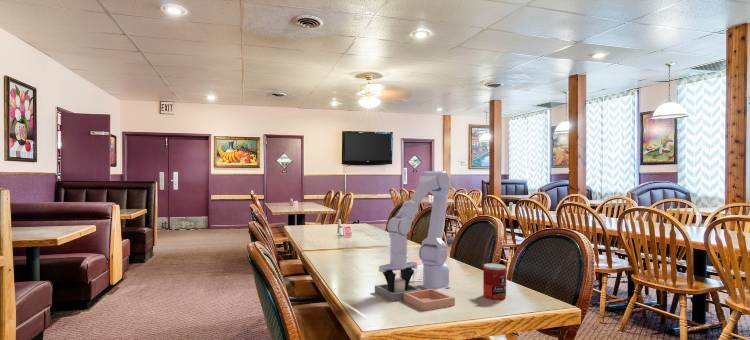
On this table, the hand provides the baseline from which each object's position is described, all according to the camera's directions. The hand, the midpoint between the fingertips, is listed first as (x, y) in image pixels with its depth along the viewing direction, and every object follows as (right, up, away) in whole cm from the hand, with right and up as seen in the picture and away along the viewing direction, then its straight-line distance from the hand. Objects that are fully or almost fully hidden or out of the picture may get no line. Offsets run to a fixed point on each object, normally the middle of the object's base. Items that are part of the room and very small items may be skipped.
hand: (398, 290), depth 148 cm
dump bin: (+10, -2, -9) cm, 13 cm away
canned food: (+34, -3, +1) cm, 34 cm away
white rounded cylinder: (0, -1, 0) cm, 1 cm away
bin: (0, -2, 0) cm, 2 cm away
